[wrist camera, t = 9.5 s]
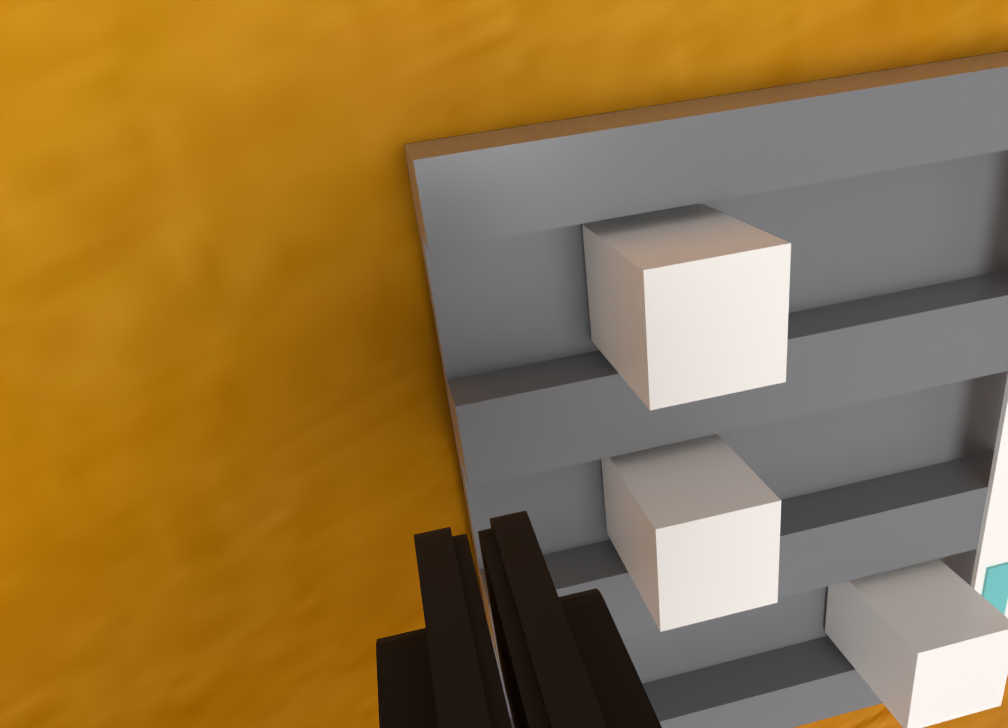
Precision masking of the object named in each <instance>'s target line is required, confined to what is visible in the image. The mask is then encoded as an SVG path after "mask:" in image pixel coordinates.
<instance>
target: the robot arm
mask: <svg viewBox="0 0 1008 728" xmlns="http://www.w3.org/2000/svg"><path fill="white" fill-rule="evenodd" d="M490 525H491V528H490V529H485V530H481V531H478V536H479V542H480V548H481V554H482V560H483V566H484V572H485V578H486V584H487V590H488V596H489V602H490V608H491V614H492V620H493V626H494V632H495V637H496V643H497V649H498V655H499V661H500V667H501V672H502V677H503V682H504V686H505V691H506V695H507V699H508V703H509V707H510V712H511V716H512V720H513V724H514V728H662V727H661V724H660V722H659V720H658V718H657V716H656V713H655V711H654V709H653V707H652V704H651V702H650V700H649V698H648V696H647V693H646V691H645V689H644V687H643V684H642V682H641V680H640V678H639V676H638V673H637V671H636V669H635V667H634V664H633V662H632V660H631V658H630V656H629V653H628V651H627V649H626V647H625V645H624V642H623V640H622V638H621V636H620V633H619V631H618V629H617V627H616V625H615V622H614V620H613V618H612V616H611V613H610V611H609V609H608V607H607V605H606V602H605V600H604V598H603V596H602V594H601V592H600V591H599V590H598V589H597V588H595V589H591V590H587V591H583V592H578V593H574V594H570V595H565V596H561V597H558V594H557V591H556V589H555V586H554V583H553V581H552V578H551V575H550V572H549V570H548V567H547V564H546V562H545V559H544V556H543V554H542V551H541V548H540V546H539V543H538V540H537V538H536V535H535V532H534V529H533V527H532V524H531V521H530V519H529V516H528V514H527V512H526V511H521V512H516V513H512V514H507V515H503V516H498V517H493V518H490ZM414 541H415V548H416V556H417V564H418V571H419V579H420V587H421V595H422V602H423V610H424V618H425V625H426V628H424V629H419V630H415V631H411V632H406V633H402V634H398V635H393V636H389V637H385V638H381V639H377V643H376V657H377V680H378V702H379V724H380V728H512V725H511V720H510V716H509V712H508V708H507V703H506V699H505V695H504V691H503V686H502V682H501V678H500V674H499V669H498V665H497V661H496V657H495V652H494V648H493V644H492V640H491V635H490V631H489V627H488V623H487V618H486V614H485V610H484V606H483V601H482V597H481V593H480V589H479V584H478V580H477V576H476V572H475V567H474V563H473V559H472V555H471V550H470V546H469V542H468V538H467V534H462V535H458V536H453V537H452V533H451V528H450V527H447V528H443V529H438V530H433V531H429V532H424V533H420V534H415V535H414Z"/></svg>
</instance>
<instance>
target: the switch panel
mask: <svg viewBox="0 0 1008 728" xmlns="http://www.w3.org/2000/svg"><path fill="white" fill-rule="evenodd" d="M404 150H405V155H406V161H407V167H408V173H409V178H410V184H411V190H412V195H413V201H414V207H415V213H416V218H417V224H418V230H419V236H420V241H421V247H422V253H423V259H424V264H425V270H426V276H427V282H428V287H429V293H430V299H431V305H432V310H433V316H434V322H435V328H436V333H437V339H438V345H439V351H440V356H441V362H442V368H443V374H444V379H445V385H446V391H447V396H448V402H449V408H450V414H451V419H452V425H453V431H454V437H455V442H456V448H457V454H458V460H459V465H460V471H461V477H462V483H463V488H464V494H465V500H466V506H467V511H468V517H469V523H470V529H471V534H472V540H473V546H474V552H475V557H476V563H477V569H478V575H479V580H480V586H481V592H482V598H483V603H484V609H485V614H486V618H487V623H488V627H489V631H490V635H491V640H492V644H493V648H494V652H495V657H496V661H497V665H498V669H499V674H500V678H501V682H502V686H503V691H504V695H505V699H506V703H507V708H508V712H509V716H510V720H511V725H512V728H514V724H513V720H512V716H511V712H510V707H509V703H508V699H507V695H506V691H505V686H504V682H503V677H502V672H501V667H500V661H499V655H498V649H497V643H496V637H495V632H494V626H493V620H492V614H491V608H490V602H489V596H488V590H487V584H486V578H485V572H484V566H483V560H482V554H481V548H480V542H479V536H478V531H481V530H485V529H490V528H491V525H490V518H493V517H498V516H503V515H507V514H512V513H516V512H521V511H526V512H527V514H528V516H529V519H530V521H531V524H532V527H533V529H534V532H535V535H536V538H537V540H538V543H539V546H540V548H541V551H542V554H543V556H544V559H545V562H546V564H547V567H548V570H549V572H550V575H551V578H552V581H553V583H554V586H555V589H556V591H557V594H558V597H561V596H565V595H570V594H574V593H578V592H583V591H587V590H591V589H595V588H597V589H598V590H599V591H600V592H601V594H602V596H603V598H604V600H605V602H606V605H607V607H608V609H609V611H610V613H611V616H612V618H613V620H614V622H615V625H616V627H617V629H618V631H619V633H620V636H621V638H622V640H623V642H624V645H625V647H626V649H627V651H628V653H629V656H630V658H631V660H632V662H633V664H634V667H635V669H636V671H637V673H638V676H639V678H640V680H641V682H642V684H643V687H644V689H645V691H646V693H647V696H648V698H649V700H650V702H651V704H652V707H653V709H654V711H655V713H656V716H657V718H658V720H659V722H660V724H661V727H662V728H793V727H797V726H800V725H804V724H807V723H811V722H815V721H818V720H822V719H826V718H829V717H833V716H837V715H840V714H844V713H848V712H851V711H855V710H859V709H862V708H866V707H869V706H873V705H877V704H880V703H883V702H882V701H881V700H880V699H879V698H878V696H877V695H876V694H875V693H874V691H873V690H872V689H871V688H870V687H869V685H868V684H867V683H866V682H865V680H864V679H863V678H862V677H861V676H860V674H859V673H858V672H857V671H856V669H855V668H854V667H853V666H852V665H851V663H850V662H849V661H848V660H847V658H846V657H845V656H844V655H843V654H842V652H841V651H840V650H839V649H838V647H837V646H836V645H835V644H834V643H833V641H832V640H831V639H830V638H829V637H828V635H827V634H826V633H825V623H826V610H827V596H828V586H830V585H834V584H838V583H842V582H846V581H850V580H854V579H858V578H862V577H866V576H870V575H874V574H878V573H882V572H886V571H890V570H894V569H898V568H902V567H906V566H910V565H914V564H918V563H922V562H926V561H930V560H934V559H938V558H939V559H940V560H941V561H942V562H943V563H944V564H946V565H947V566H948V567H949V568H950V569H951V570H953V571H954V572H955V573H956V574H957V575H958V576H959V577H961V578H962V579H963V580H964V581H965V582H966V583H968V584H969V585H970V586H971V587H972V588H973V589H975V590H976V591H977V592H978V593H979V594H980V595H982V596H983V597H984V598H985V599H986V600H987V601H988V602H990V603H991V604H992V605H993V606H994V607H995V608H997V609H998V610H999V611H1000V612H1001V613H1002V614H1004V615H1005V616H1006V617H1007V618H1008V51H1004V52H998V53H991V54H985V55H978V56H972V57H965V58H959V59H953V60H946V61H940V62H933V63H927V64H920V65H914V66H907V67H901V68H894V69H888V70H881V71H875V72H868V73H862V74H855V75H849V76H843V77H836V78H830V79H823V80H817V81H810V82H804V83H797V84H791V85H784V86H778V87H771V88H765V89H758V90H752V91H745V92H739V93H733V94H726V95H720V96H713V97H707V98H700V99H694V100H687V101H681V102H674V103H668V104H661V105H655V106H648V107H642V108H635V109H629V110H623V111H616V112H610V113H603V114H597V115H590V116H584V117H577V118H571V119H564V120H558V121H551V122H545V123H538V124H532V125H525V126H519V127H513V128H506V129H500V130H493V131H487V132H480V133H474V134H467V135H461V136H454V137H448V138H441V139H435V140H428V141H422V142H415V143H409V144H404ZM696 204H704V205H706V206H708V207H711V208H713V209H715V210H718V211H720V212H722V213H724V214H727V215H729V216H731V217H733V218H736V219H738V220H740V221H742V222H745V223H747V224H749V225H751V226H754V227H756V228H758V229H760V230H763V231H765V232H767V233H769V234H772V235H774V236H776V237H778V238H781V239H783V240H785V241H788V242H790V243H791V260H790V286H789V313H788V339H787V365H786V382H784V383H779V384H774V385H769V386H764V387H760V388H755V389H750V390H745V391H741V392H736V393H731V394H726V395H722V396H717V397H712V398H707V399H702V400H698V401H693V402H688V403H683V404H679V405H674V406H669V407H664V408H660V409H655V410H649V409H648V408H647V406H646V405H645V404H644V403H643V402H642V400H641V399H640V398H639V397H638V396H637V394H636V393H635V392H634V391H633V390H632V388H631V387H630V386H629V385H628V384H627V382H626V381H625V380H624V379H623V378H622V376H621V375H620V374H619V373H618V372H617V371H616V369H615V368H614V367H613V366H612V365H611V363H610V362H609V361H608V360H607V359H606V357H605V356H604V355H603V354H602V353H601V351H600V350H599V349H598V348H597V347H596V345H595V344H594V343H593V342H592V340H591V328H590V315H589V303H588V291H587V278H586V266H585V254H584V241H583V229H582V224H587V223H592V222H598V221H604V220H610V219H615V218H621V217H627V216H633V215H638V214H644V213H650V212H656V211H661V210H667V209H673V208H679V207H684V206H690V205H696ZM714 434H718V435H719V436H720V437H721V438H722V439H723V440H724V441H725V442H726V443H727V444H728V445H729V446H730V448H731V449H732V450H733V451H734V452H735V453H736V454H737V455H738V456H739V457H740V458H741V459H742V460H743V461H744V462H745V463H746V464H747V465H748V466H749V467H750V468H751V469H752V470H753V471H754V472H755V474H756V475H757V476H758V477H759V478H760V479H761V480H762V481H763V482H764V483H765V484H766V485H767V486H768V487H769V488H770V489H771V490H772V491H773V492H774V493H775V494H776V495H777V496H778V497H779V499H780V500H781V524H780V550H779V576H778V603H774V604H770V605H766V606H762V607H758V608H754V609H750V610H746V611H742V612H738V613H734V614H730V615H726V616H722V617H718V618H714V619H710V620H706V621H702V622H698V623H694V624H690V625H686V626H682V627H678V628H674V629H670V630H666V631H662V632H660V630H659V628H658V626H657V625H656V623H655V621H654V619H653V617H652V615H651V613H650V612H649V610H648V608H647V606H646V604H645V602H644V600H643V599H642V597H641V595H640V593H639V591H638V589H637V587H636V586H635V584H634V582H633V580H632V578H631V576H630V574H629V573H628V571H627V569H626V567H625V565H624V563H623V562H622V560H621V558H620V556H619V554H618V552H617V550H616V549H615V547H614V545H613V543H612V541H611V539H610V537H609V536H608V534H607V526H606V513H605V501H604V488H603V476H602V464H601V459H604V458H608V457H613V456H618V455H622V454H627V453H631V452H636V451H641V450H645V449H650V448H654V447H659V446H664V445H668V444H673V443H678V442H682V441H687V440H691V439H696V438H701V437H705V436H710V435H714Z"/></svg>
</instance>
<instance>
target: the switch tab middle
mask: <svg viewBox="0 0 1008 728" xmlns="http://www.w3.org/2000/svg"><path fill="white" fill-rule="evenodd" d="M601 464H602V476H603V488H604V501H605V513H606V526H607V534H608V536H609V537H610V539H611V541H612V543H613V545H614V547H615V549H616V550H617V552H618V554H619V556H620V558H621V560H622V562H623V563H624V565H625V567H626V569H627V571H628V573H629V574H630V576H631V578H632V580H633V582H634V584H635V586H636V587H637V589H638V591H639V593H640V595H641V597H642V599H643V600H644V602H645V604H646V606H647V608H648V610H649V612H650V613H651V615H652V617H653V619H654V621H655V623H656V625H657V626H658V628H659V630H660V632H662V631H666V630H670V629H674V628H678V627H682V626H686V625H690V624H694V623H698V622H702V621H706V620H710V619H714V618H718V617H722V616H726V615H730V614H734V613H738V612H742V611H746V610H750V609H754V608H758V607H762V606H766V605H770V604H774V603H778V576H779V550H780V524H781V500H780V499H779V497H778V496H777V495H776V494H775V493H774V492H773V491H772V490H771V489H770V488H769V487H768V486H767V485H766V484H765V483H764V482H763V481H762V480H761V479H760V478H759V477H758V476H757V475H756V474H755V472H754V471H753V470H752V469H751V468H750V467H749V466H748V465H747V464H746V463H745V462H744V461H743V460H742V459H741V458H740V457H739V456H738V455H737V454H736V453H735V452H734V451H733V450H732V449H731V448H730V446H729V445H728V444H727V443H726V442H725V441H724V440H723V439H722V438H721V437H720V436H719V435H718V434H714V435H710V436H705V437H701V438H696V439H691V440H687V441H682V442H678V443H673V444H668V445H664V446H659V447H654V448H650V449H645V450H641V451H636V452H631V453H627V454H622V455H618V456H613V457H608V458H604V459H601Z"/></svg>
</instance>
